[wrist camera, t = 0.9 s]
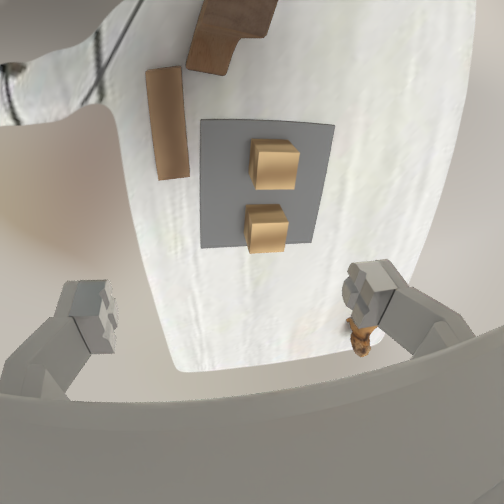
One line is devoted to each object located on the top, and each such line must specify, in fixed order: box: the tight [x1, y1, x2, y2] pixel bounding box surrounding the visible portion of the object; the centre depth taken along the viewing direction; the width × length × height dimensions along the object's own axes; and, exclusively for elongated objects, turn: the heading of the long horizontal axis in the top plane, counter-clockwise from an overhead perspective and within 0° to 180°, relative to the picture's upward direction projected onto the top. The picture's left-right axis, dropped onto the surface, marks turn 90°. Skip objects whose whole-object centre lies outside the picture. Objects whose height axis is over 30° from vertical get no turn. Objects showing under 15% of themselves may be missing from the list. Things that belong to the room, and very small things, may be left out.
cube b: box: [244, 204, 289, 254], centre depth 46 cm, size 5×5×5 cm
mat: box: [200, 119, 335, 248], centre depth 45 cm, size 20×18×1 cm
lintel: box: [145, 66, 190, 181], centre depth 35 cm, size 4×14×3 cm, turn 1°
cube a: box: [248, 139, 300, 190], centre depth 39 cm, size 5×5×5 cm
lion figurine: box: [346, 318, 378, 357], centre depth 65 cm, size 15×5×9 cm, turn 165°
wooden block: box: [186, 0, 278, 76], centre depth 23 cm, size 9×4×18 cm, turn 165°
